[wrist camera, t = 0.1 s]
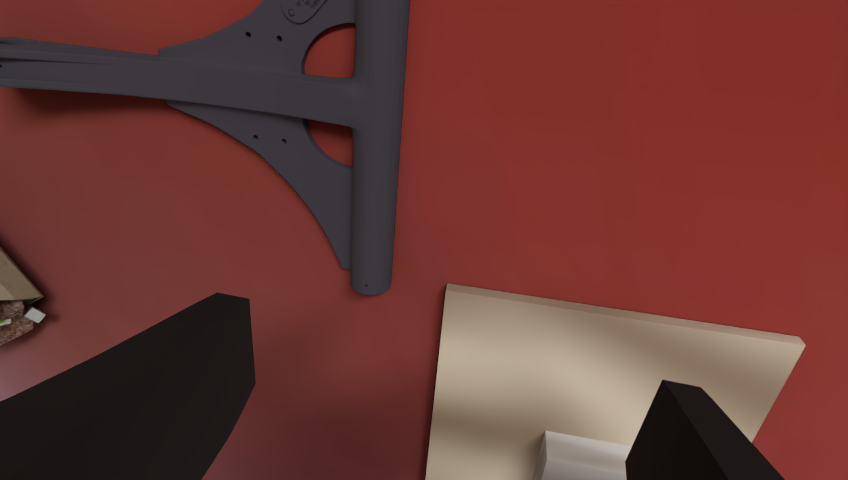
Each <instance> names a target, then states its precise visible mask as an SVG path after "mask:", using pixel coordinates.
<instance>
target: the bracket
mask: <svg viewBox="0 0 848 480" xmlns="http://www.w3.org/2000/svg"><path fill="white" fill-rule="evenodd" d="M409 9H410V0H264V1H263V2H262V3H261V4H260V5H259V6H258V7H257V8H256V9H255V10H254V11H253V12H252V13H251V14H249V15H248V16H246V17H244V18H242V19H241V20H239V21H237V22H235V23H233V24H231V25H229V26H228V27H226V28H224V29H222V30H220V31H218V32H216V33H214V34H211V35H209V36H206V37H204V38H202V39H198V40H194V41H191V42H187V43H183V44H179V45H175V46H170V47H166V48H163V49H159V51H158V54H159V56H156V55H148V54H140V53H132V52H124V51H116V50H108V49H100V48H92V47H84V46H77V45H69V44H61V43H53V42H45V41H36V40H29V39H21V38H13V37H0V87H7V88H31V89H47V90H61V91H76V92H90V93H104V94H118V95H129V96H139V97H149V98H159V99H166V103H167V105H169V106H171V107H174V108H176V109H178V110H180V111H183V112H185V113H188V114H190V115H192V116H195V117H197V118H199V119H201V120H204V121H206V122H208V123H210V124H212V125H214V126H215V127H217V128H219V129H221V130H223V131H224V132H226V133H228V134H229V135H231V136H233V137H234V138H236V139H237V140H239V141H241V142H242V143H244V144H245V145H247V146H248V147H250V148H251V149H253V150H254V151H256V152H257V153H258V154H260V155H261V156H262V157H263V158H264V159H265V160H266V161H267V162H268V163H269V164H270V165H271V166H272V167H273V168H274V169H275V170H276V171H277V172H278V173H279V174H280V175H281V176H282V177H283V178H284V179H285V180H286V181H287V182H288V183H289V184H290V185H291V186H292V188H293V189H294V190H295V191H296V192H297V193H298V195H299V196H300V197H301V198H302V199H303V201H304V202H305V203H306V205H307V206H308V207H309V209H310V210H311V212H312V213H313V215H314V216H315V217H316V219H317V221H318V222H319V224H320V225H321V227H322V229H323V230H324V232H325V234H326V236H327V238H328V239H329V241H330V243H331V245H332V247H333V249H334V251H335V254H336V256H337V258H338V260H339V262H340V264H341V266H342V268H343V269H347V270H350V272H351V286H352V288H353V289H354V290H355V291H357V292H359V293H361V294H365V295H377V294H381V293H383V292H385V291H387V290H388V289H389V288H390V285H391V276H392V261H393V246H394V231H395V217H396V202H397V187H398V172H399V157H400V142H401V127H402V113H403V98H404V83H405V68H406V53H407V38H408V23H409ZM343 23H355V24H356V42H355V62H354V72H353V76H352V78H334V77H322V76H314V75H307V74H305V73H304V63H305V59H306V56H307V53H308V51H309V49H310V47H311V45H312V43H313V42H314V40H315V39H316V38H317V37H318V36H319V35H320V34H321V33H322V32H324V31H325V30H327V29H328V28H330V27H332V26H335V25H339V24H343ZM249 33H250V34H251V36H250V34H249ZM280 36H281V37H282V40H281V39H280ZM306 119H311V120H316V121H322V122H328V123H333V124H338V125H344V126H348V127H350V128H351V129H352V133H353V167H350V166H347V165H344V164H342V163H340V162H337V161H336V160H334V159H332V158H331V157H329V156H328V155H326V154H325V153H324V152H323V151H322V150H321V149H320V148H319V147H318V145H317V144H316V143H315V141H314V139H313V138H312V136H311V134H310V132H309V129H308V127H307V124H306ZM257 136H258V137H257ZM285 140H286V141H285Z"/></svg>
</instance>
